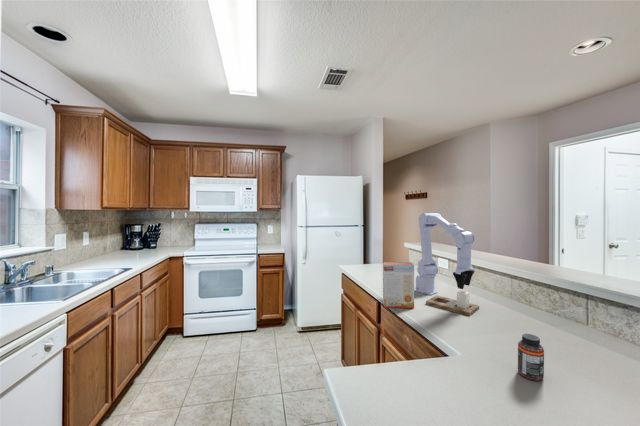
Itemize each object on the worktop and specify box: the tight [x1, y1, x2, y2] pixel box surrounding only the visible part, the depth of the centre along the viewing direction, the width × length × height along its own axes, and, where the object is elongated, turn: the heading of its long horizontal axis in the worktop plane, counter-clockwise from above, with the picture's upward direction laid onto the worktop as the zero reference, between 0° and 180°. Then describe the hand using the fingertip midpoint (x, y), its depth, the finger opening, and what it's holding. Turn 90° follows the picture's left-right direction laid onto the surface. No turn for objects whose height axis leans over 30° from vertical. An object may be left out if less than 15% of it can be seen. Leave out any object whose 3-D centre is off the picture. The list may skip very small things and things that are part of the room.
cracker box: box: [382, 261, 415, 309], centre depth 133 cm, size 14×6×21 cm, turn 84°
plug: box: [456, 289, 470, 310], centre depth 128 cm, size 4×4×8 cm
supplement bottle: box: [517, 333, 545, 382], centre depth 79 cm, size 6×6×11 cm
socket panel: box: [425, 295, 480, 317], centre depth 132 cm, size 20×12×2 cm, turn 43°
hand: (463, 286), depth 128 cm, fingers open, 7 cm apart
